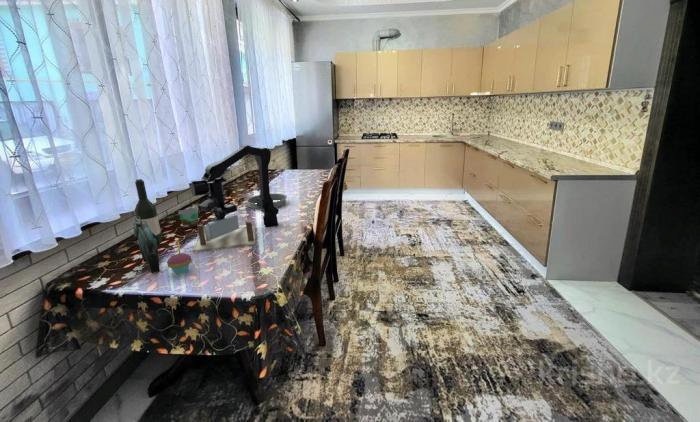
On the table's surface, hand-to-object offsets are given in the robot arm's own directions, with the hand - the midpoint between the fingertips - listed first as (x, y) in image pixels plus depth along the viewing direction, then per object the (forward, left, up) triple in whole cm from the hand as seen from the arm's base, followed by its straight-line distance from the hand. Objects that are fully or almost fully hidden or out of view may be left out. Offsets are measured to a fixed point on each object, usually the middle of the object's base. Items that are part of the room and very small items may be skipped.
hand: (221, 224), depth 167 cm
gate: (-1, +3, -4) cm, 5 cm away
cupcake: (+12, +34, -7) cm, 37 cm away
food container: (+17, -25, -7) cm, 31 cm away
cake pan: (-22, -52, -7) cm, 57 cm away
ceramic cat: (+25, +23, -7) cm, 35 cm away
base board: (-2, +3, -7) cm, 7 cm away
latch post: (-13, +12, -7) cm, 19 cm away
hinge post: (+7, +9, -7) cm, 14 cm away
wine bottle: (+32, -5, -7) cm, 33 cm away
